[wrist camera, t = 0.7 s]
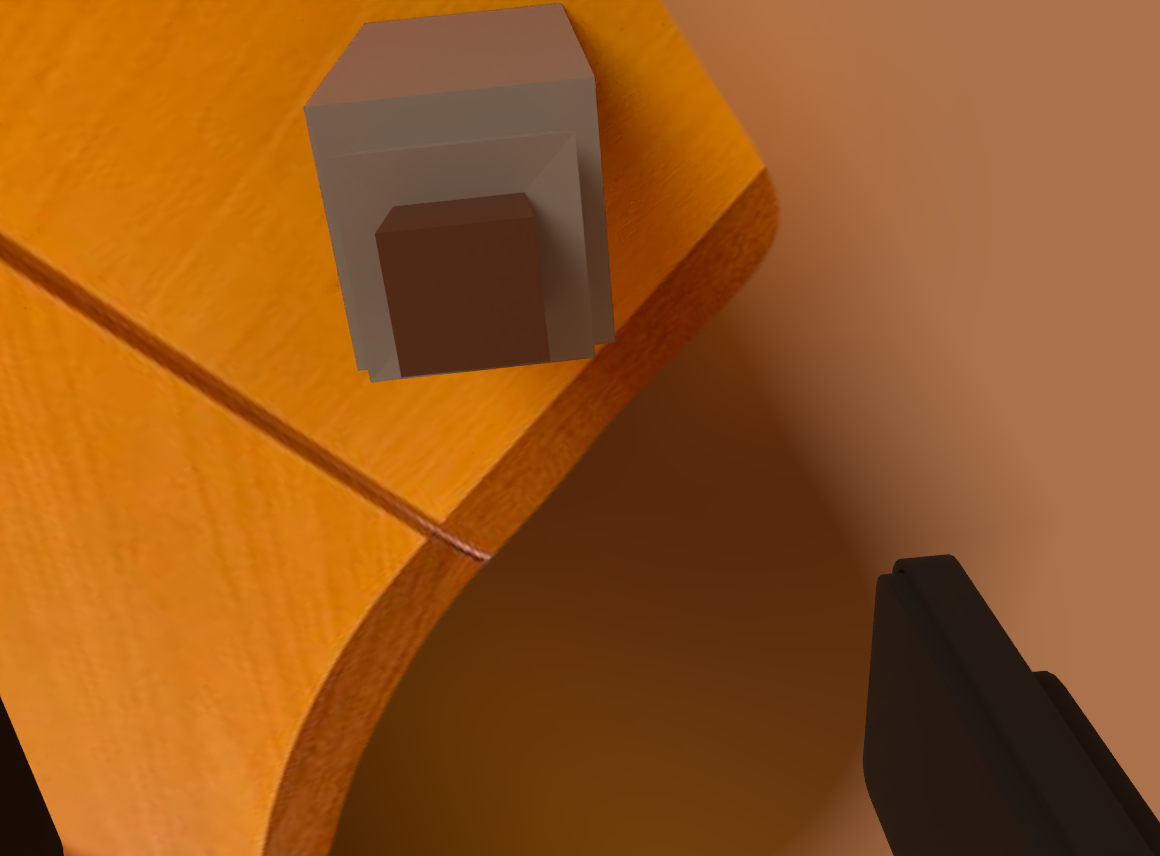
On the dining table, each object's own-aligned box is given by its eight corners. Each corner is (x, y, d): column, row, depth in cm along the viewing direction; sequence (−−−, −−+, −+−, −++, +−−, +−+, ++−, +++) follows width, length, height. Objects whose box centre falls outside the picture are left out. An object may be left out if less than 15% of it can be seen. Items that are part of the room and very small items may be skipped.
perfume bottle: (364, 23, 37) (267, 156, 21) (561, 3, 37) (614, 119, 21) (397, 215, 40) (336, 456, 24) (578, 196, 40) (635, 423, 24)
